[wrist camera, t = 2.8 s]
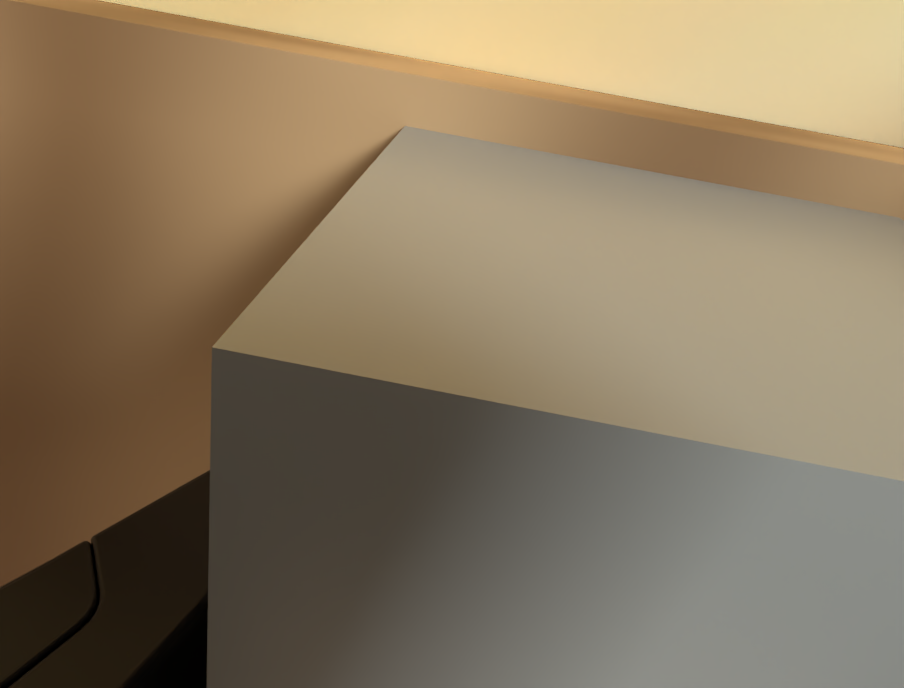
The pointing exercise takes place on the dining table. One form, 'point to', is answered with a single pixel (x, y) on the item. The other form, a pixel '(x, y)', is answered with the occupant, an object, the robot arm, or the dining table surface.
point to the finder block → (562, 436)
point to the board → (244, 218)
